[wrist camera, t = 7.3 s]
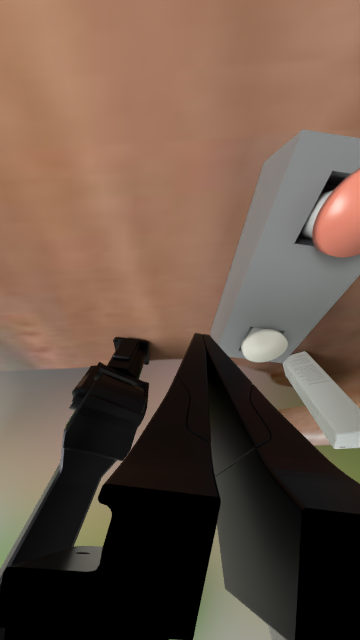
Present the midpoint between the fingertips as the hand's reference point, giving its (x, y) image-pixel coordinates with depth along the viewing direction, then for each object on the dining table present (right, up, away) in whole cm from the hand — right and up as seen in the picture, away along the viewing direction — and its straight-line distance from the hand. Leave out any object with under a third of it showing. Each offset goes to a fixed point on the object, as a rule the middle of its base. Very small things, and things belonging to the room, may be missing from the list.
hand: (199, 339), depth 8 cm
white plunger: (+9, 0, +13) cm, 16 cm away
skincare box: (+21, -7, +19) cm, 30 cm away
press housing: (+10, +6, +10) cm, 16 cm away
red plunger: (+11, +10, +5) cm, 16 cm away
